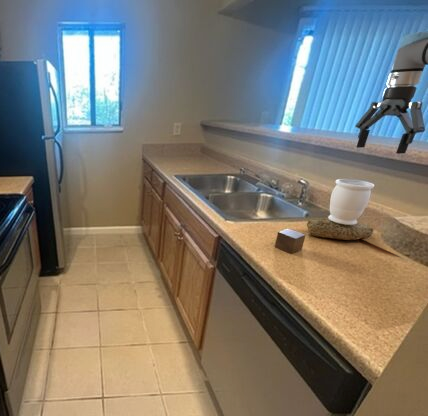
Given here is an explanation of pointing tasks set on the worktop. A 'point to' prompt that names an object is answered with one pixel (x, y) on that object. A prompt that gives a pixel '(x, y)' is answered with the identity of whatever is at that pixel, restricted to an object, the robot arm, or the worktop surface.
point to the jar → (349, 200)
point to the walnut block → (290, 241)
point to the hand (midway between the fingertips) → (379, 150)
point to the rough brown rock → (338, 230)
